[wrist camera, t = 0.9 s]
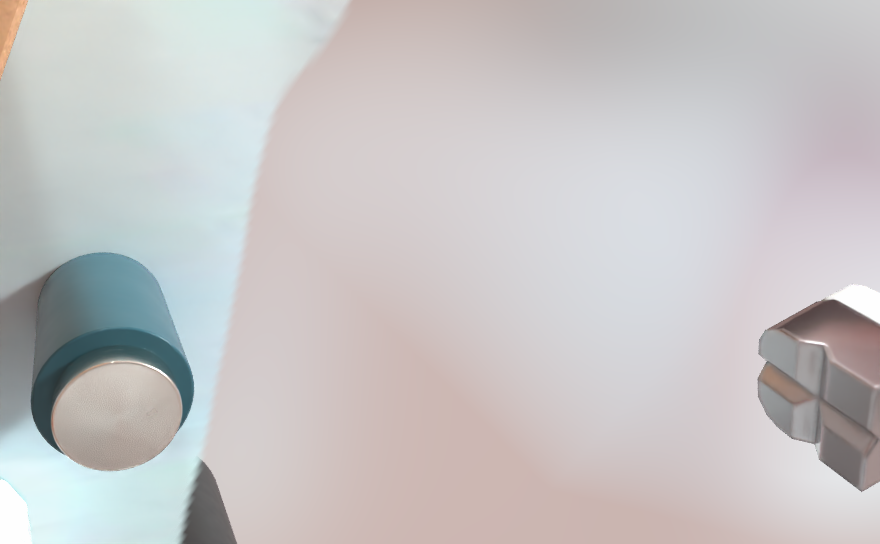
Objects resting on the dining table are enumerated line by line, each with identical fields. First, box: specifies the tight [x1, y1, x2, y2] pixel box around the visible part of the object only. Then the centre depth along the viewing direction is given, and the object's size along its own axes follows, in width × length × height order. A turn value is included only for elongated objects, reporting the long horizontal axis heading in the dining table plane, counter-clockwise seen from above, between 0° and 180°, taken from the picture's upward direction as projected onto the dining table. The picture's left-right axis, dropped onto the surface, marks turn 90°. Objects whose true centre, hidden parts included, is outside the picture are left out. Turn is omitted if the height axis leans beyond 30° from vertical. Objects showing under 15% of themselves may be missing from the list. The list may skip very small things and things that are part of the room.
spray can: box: [31, 253, 194, 471], centre depth 30 cm, size 5×5×11 cm
